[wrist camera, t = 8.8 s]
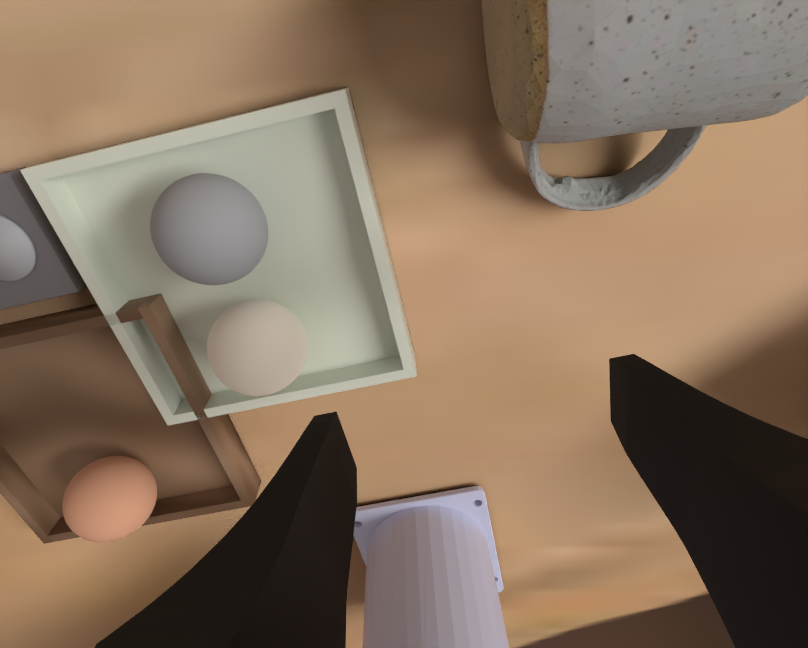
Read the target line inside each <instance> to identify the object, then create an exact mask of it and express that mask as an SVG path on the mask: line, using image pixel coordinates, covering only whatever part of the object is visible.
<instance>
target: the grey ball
mask: <svg viewBox="0 0 808 648" xmlns="http://www.w3.org/2000/svg"><path fill="white" fill-rule="evenodd" d="M150 232H151V238H152V242H153V244H154V247H155V249H156V251H157V253H158V255H159V256H160V258H161V259H162V261H163V262H164V263H165V264H166V265H167V266H168V267H169V268H170V269H171V270H172V271H173V272H175V273H176V274H178V275H179V276H181V277H183V278H185V279H187V280H189V281H192V282H195V283H198V284H204V285H222V284H228V283H231V282H234V281H237V280H239V279H241V278H243V277H244V276H246V275H247V274H249V273H250V272H251V271H252V270H253V269H254V268H255V267H256V266H257V265H258V263H259V262H260V260H261V259H262V257H263V255H264V253H265V250H266V247H267V243H268V224H267V219H266V216H265V213H264V211H263V208H262V207H261V205H260V203H259V202H258V200H257V199H256V198H255V196H254V195H253V194H252V193H251V192H250V191H249V190H248V189H247V188H245V187H244V186H243V185H241V184H240V183H238V182H237V181H235V180H233V179H231V178H228V177H225V176H222V175H217V174H209V173H199V174H193V175H189V176H186V177H183V178H181V179H179V180H177V181H175V182H173V183H172V184H171V185H169V186H168V187H167V188H166V189H165V190H164V191H163V192H162V193H161V194H160V196H159V197H158V199H157V201H156V203H155V204H154V207H153V210H152V213H151V219H150Z"/></svg>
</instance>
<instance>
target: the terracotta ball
mask: <svg viewBox="0 0 808 648" xmlns="http://www.w3.org/2000/svg"><path fill="white" fill-rule="evenodd" d="M156 499H157V484H156V480H155V478H154V475H153V474H152V472H151V471H150V469H149V468H148V467H147V466H146V465H145V464H143V463H142V462H140V461H138V460H136V459H134V458H131V457H127V456H109V457H105V458H101V459H98V460H96V461H94V462H92V463H90V464H88V465H87V466H85V467H84V468H83V469H81V470H80V471H79V472H78V473H77V474H76V475H75V476H74V477H73V479H72V480H71V481H70V483H69V485H68V486H67V488H66V491H65V494H64V497H63V504H62V509H63V516H64V519H65V521H66V523H67V525H68V526H69V528H70V529H71V530H72V531H73V532H74V533H75V534H76V535H78V536H80V537H81V538H83V539H86V540H89V541H93V542H110V541H115V540H118V539H121V538H124V537H126V536H128V535H130V534H131V533H133V532H134V531H136V530H137V529H138V528H140V527H141V526H142V525H143V524H144V523H145V521H146V520H147V519H148V518H149V516H150V514H151V513H152V511H153V509H154V506H155V503H156Z"/></svg>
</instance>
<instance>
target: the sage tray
mask: <svg viewBox="0 0 808 648" xmlns="http://www.w3.org/2000/svg"><path fill="white" fill-rule="evenodd" d="M20 171H21V173H22V175H23V176H24V178H25V180H26V182H27V183H28V185H29V187H30V188H31V190H32V192H33V194H34V195H35V197H36V199H37V201H38V202H39V204H40V206H41V207H42V209H43V211H44V213H45V214H46V216H47V218H48V220H49V221H50V223H51V225H52V226H53V228H54V230H55V232H56V233H57V235H58V237H59V239H60V240H61V242H62V244H63V245H64V247H65V249H66V251H67V252H68V254H69V256H70V258H71V259H72V261H73V263H74V265H75V266H76V268H77V270H78V271H79V273H80V275H81V277H82V278H83V280H84V282H85V284H86V285H87V287H88V289H89V290H90V292H91V294H92V296H93V297H94V299H95V301H96V303H97V304H98V306H99V308H100V309H101V311H102V313H103V315H105V317H106V320H107V321H108V320H109V321H108V323H109V325H110V327H111V328H112V330H113V332H114V334H115V335H116V337H117V339H118V341H119V342H120V344H121V346H122V347H123V349H124V351H125V353H126V354H127V356H128V358H129V360H130V361H131V363H132V365H133V366H134V368H135V370H136V372H137V373H138V375H139V377H140V379H141V380H142V382H143V384H144V386H145V387H146V389H147V391H148V392H149V394H150V396H151V398H152V399H153V401H154V403H155V405H156V406H157V408H158V410H159V411H160V413H161V415H162V417H163V418H164V420H165V422H166V424H167V425H168V426H169V425H174V424H179V423H184V422H189V421H194V420H198V419H203V418H204V417H205V416H204V417H203V418H200V417H199V418H197V416H195V414H194V412H193V410H192V408H191V406H190V404H189V403H188V401H187V399H186V397H185V395H184V393H183V391H182V389H181V388H180V386H179V384H178V382H177V380H176V378H175V376H174V375H173V373H172V371H171V369H170V367H169V365H168V363H167V362H166V360H165V358H164V356H163V354H162V352H161V350H160V349H159V347H158V345H157V343H156V341H155V339H154V337H153V335H152V334H151V332H150V330H149V328H148V326H147V324H146V322H145V321H144V319H139V320H134V321H130V322H125V323H121V322H120V321H119V319H118V317H117V316H114V315H116V314H115V313H116V312H117V311H118V310H119V309H120V308H121V307H122V306H123V305H124V304H125V303H127V302H128V301H129V300H133V299H138V298H142V297H147V296H151V295H156V294H160V293H161V294H162V296H163V298H164V300H165V302H166V304H167V306H168V308H169V310H170V312H171V314H172V316H173V318H174V320H175V322H176V324H177V326H178V328H179V330H180V332H181V334H182V336H183V338H184V340H185V342H186V344H187V346H188V348H189V350H190V352H191V354H192V356H193V358H194V360H195V362H196V364H197V366H198V368H199V370H200V372H201V374H202V376H203V378H204V380H205V382H206V384H207V386H208V387H209V389H210V391H211V393H212V394H211V396H210V398H209V400H208V402H207V404H206V406H205V408H204V409H203V410H204V411H205V413H206V415H207V416H206V418H207V417H208V418H209V417H214V416H219V415H224V414H229V413H235V412H240V411H245V410H250V409H255V408H260V407H265V406H270V405H275V404H280V403H285V402H290V401H295V400H300V399H305V398H310V397H316V396H321V395H326V394H331V393H336V392H341V391H346V390H351V389H356V388H361V387H366V386H371V385H376V384H381V383H386V382H392V381H397V380H402V379H407V378H412V377H417V372H416V361H415V354H414V350H413V346H412V342H411V338H410V334H409V330H408V326H407V322H406V318H405V314H404V310H403V305H402V301H401V297H400V293H399V289H398V285H397V281H396V277H395V273H394V269H393V265H392V261H391V257H390V253H389V249H388V245H387V241H386V237H385V233H384V229H383V225H382V221H381V217H380V212H379V208H378V204H377V200H376V196H375V192H374V188H373V184H372V180H371V176H370V172H369V168H368V164H367V160H366V156H365V152H364V148H363V144H362V140H361V136H360V132H359V128H358V123H357V119H356V115H355V111H354V107H353V103H352V99H351V95H350V91H349V87H346V88H342V89H338V90H334V91H330V92H326V93H322V94H318V95H314V96H310V97H306V98H302V99H298V100H294V101H290V102H286V103H282V104H278V105H274V106H270V107H266V108H262V109H258V110H254V111H250V112H246V113H241V114H237V115H233V116H229V117H225V118H221V119H217V120H213V121H209V122H205V123H201V124H197V125H193V126H189V127H185V128H181V129H177V130H173V131H169V132H165V133H161V134H157V135H153V136H149V137H145V138H141V139H137V140H133V141H129V142H125V143H121V144H117V145H112V146H108V147H104V148H100V149H96V150H92V151H88V152H84V153H80V154H76V155H72V156H68V157H64V158H60V159H56V160H52V161H48V162H45V163H41V164H38V165H35V166H31V167H28V168H24V169H21V170H20ZM199 173H209V174H217V175H222V176H225V177H228V178H231V179H233V180H235V181H237V182H238V183H240V184H241V185H243V186H244V187H245V188H247V189H248V190H249V191H250V192H251V193H252V194H253V195H254V196H255V198H256V199H257V200H258V202H259V203H260V205H261V207H262V208H263V211H264V213H265V216H266V219H267V224H268V243H267V247H266V250H265V253H264V255H263V257H262V259H261V260H260V262H259V263H258V265H257V266H256V267H255V268H254V269H253V270H252V271H251V272H250V273H249V274H247V275H246V276H244V277H243V278H241V279H239V280H237V281H234V282H231V283H228V284H222V285H204V284H198V283H195V282H192V281H189V280H187V279H185V278H183V277H181V276H179V275H178V274H176V273H175V272H173V271H172V270H171V269H170V268H169V267H168V266H167V265H166V264H165V263H164V262H163V261H162V259H161V258H160V256H159V255H158V253H157V251H156V249H155V247H154V244H153V242H152V238H151V232H150V219H151V213H152V210H153V207H154V204H155V203H156V201H157V199H158V197H159V196H160V194H161V193H162V192H163V191H164V190H165V189H166V188H167V187H168V186H169V185H171V184H172V183H173V182H175V181H177V180H179V179H181V178H183V177H186V176H189V175H193V174H199ZM250 299H266V300H271V301H275V302H277V303H280V304H282V305H284V306H285V307H287V308H288V309H290V310H291V311H292V312H293V313H294V314H295V315H296V316H297V317H298V319H299V320H300V321H301V323H302V325H303V327H304V329H305V332H306V335H307V341H308V353H307V359H306V362H305V364H304V367H303V369H302V371H301V372H300V374H299V375H298V376H297V378H296V379H295V380H294V381H293V382H292V383H291V384H289V385H288V386H287V387H285V388H284V389H282V390H280V391H278V392H275V393H273V394H269V395H263V396H250V395H245V394H241V393H238V392H236V391H234V390H232V389H230V388H228V387H227V386H225V385H224V384H223V383H222V382H221V381H220V380H219V379H218V378H217V376H216V375H215V374H214V372H213V370H212V369H211V366H210V364H209V360H208V356H207V340H208V336H209V332H210V330H211V328H212V326H213V324H214V322H215V321H216V319H217V318H218V317H219V316H220V315H221V314H222V313H223V312H224V311H225V310H226V309H228V308H229V307H231V306H232V305H234V304H236V303H239V302H242V301H245V300H250ZM111 314H112V315H111ZM110 316H112V317H110ZM112 318H113V320H112ZM114 320H115V321H114ZM118 321H119V323H118ZM113 322H115V323H113ZM112 324H113V325H112ZM115 324H116V325H115ZM197 415H198V414H197ZM200 416H201V415H200ZM201 417H202V416H201Z"/></svg>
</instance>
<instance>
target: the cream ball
mask: <svg viewBox="0 0 808 648" xmlns="http://www.w3.org/2000/svg"><path fill="white" fill-rule="evenodd" d="M307 353H308V341H307V335H306V332H305V329H304V327H303V325H302V323H301V321H300V320H299V319H298V317H297V316H296V315H295V314H294V313H293V312H292V311H291V310H290V309H288V308H287V307H285V306H284V305H282V304H280V303H277V302H275V301H271V300H266V299H250V300H245V301H242V302H239V303H236V304H234V305H232V306H231V307H229V308H228V309H226V310H225V311H224V312H223V313H222V314H221V315H220V316H219V317H218V318H217V319H216V321H215V322H214V324H213V326H212V328H211V330H210V332H209V336H208V340H207V356H208V360H209V364H210V366H211V369H212V370H213V372H214V374H215V375H216V376H217V378H218V379H219V380H220V381H221V382H222V383H223V384H224V385H225V386H227V387H228V388H230V389H232V390H234V391H236V392H238V393H241V394H245V395H250V396H263V395H269V394H273V393H275V392H278V391H280V390H282V389H284V388H285V387H287V386H288V385H289V384H291V383H292V382H293V381H294V380H295V379H296V378H297V376H298V375H299V374H300V372H301V371H302V369H303V367H304V364H305V362H306V359H307Z"/></svg>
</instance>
